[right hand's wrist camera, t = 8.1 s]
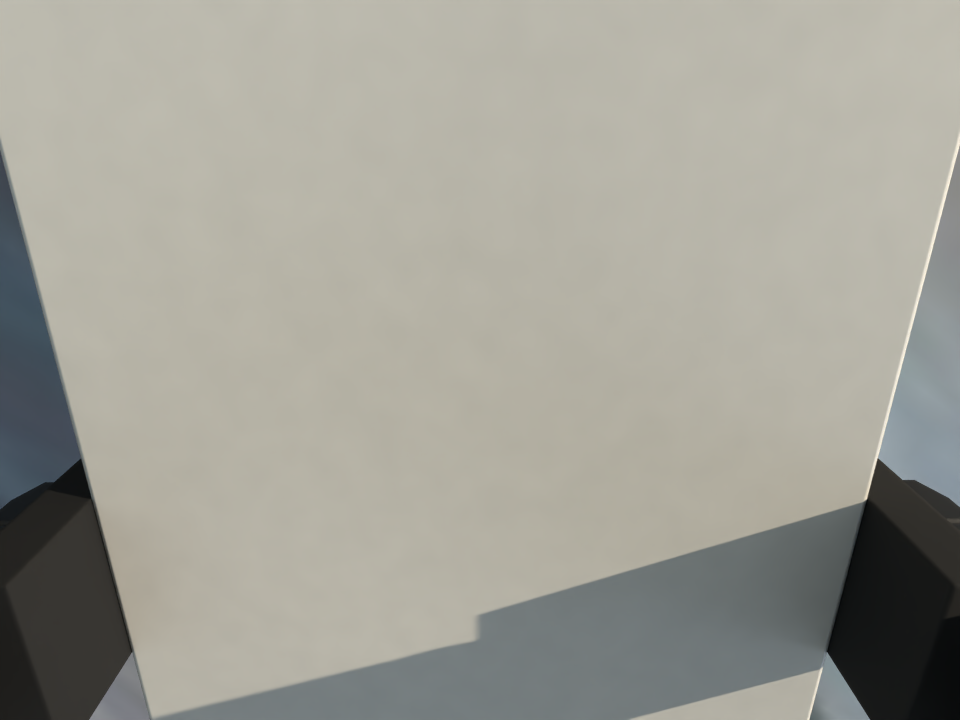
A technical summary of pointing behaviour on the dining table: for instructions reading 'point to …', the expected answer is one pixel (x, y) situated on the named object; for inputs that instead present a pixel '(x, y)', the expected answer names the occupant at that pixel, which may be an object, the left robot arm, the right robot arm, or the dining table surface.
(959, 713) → the right robot arm
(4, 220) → the dining table surface
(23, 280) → the dining table surface
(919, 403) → the dining table surface
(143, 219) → the cabinet
